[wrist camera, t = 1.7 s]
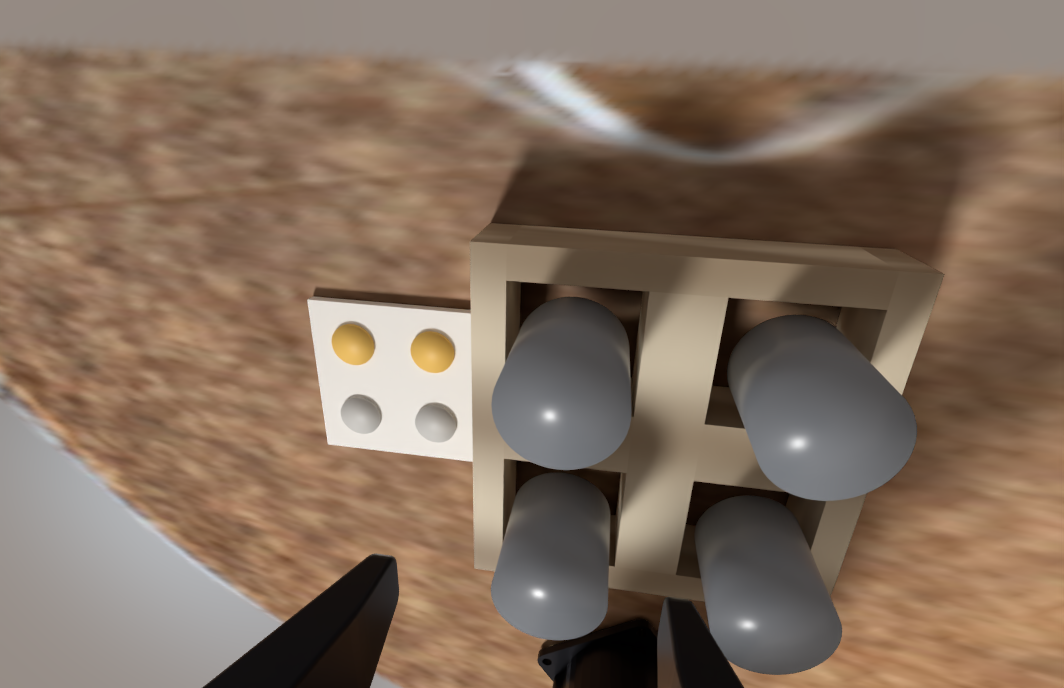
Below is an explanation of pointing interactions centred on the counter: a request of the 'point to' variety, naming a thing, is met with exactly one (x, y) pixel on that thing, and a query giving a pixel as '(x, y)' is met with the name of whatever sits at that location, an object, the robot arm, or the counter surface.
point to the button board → (681, 375)
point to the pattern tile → (394, 376)
